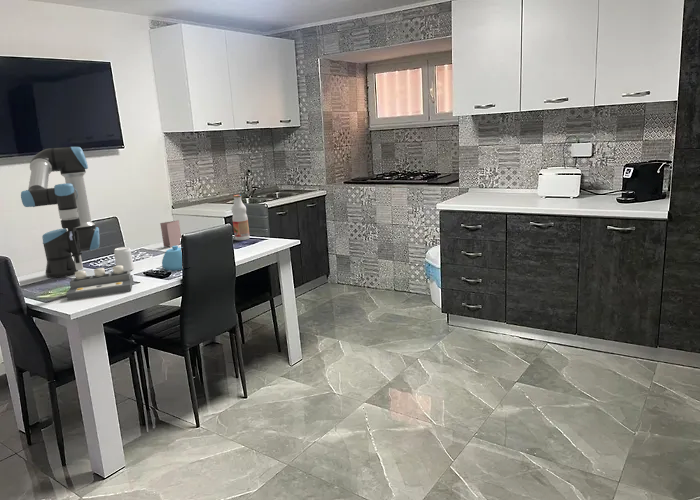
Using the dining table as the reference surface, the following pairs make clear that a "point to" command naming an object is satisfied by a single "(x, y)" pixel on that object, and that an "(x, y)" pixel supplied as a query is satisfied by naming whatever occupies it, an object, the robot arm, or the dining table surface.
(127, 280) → the button panel
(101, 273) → the middle button
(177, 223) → the pink rectangular block
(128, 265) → the beverage can
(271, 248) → the dining table surface
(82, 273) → the button
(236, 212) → the fruit juice
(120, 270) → the button
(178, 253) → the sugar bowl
